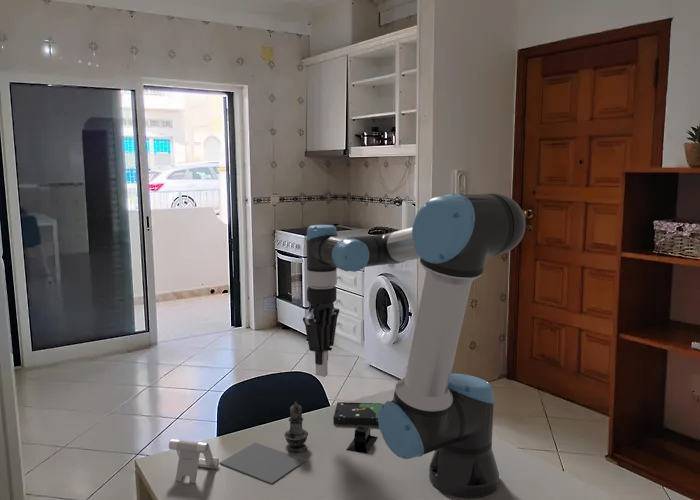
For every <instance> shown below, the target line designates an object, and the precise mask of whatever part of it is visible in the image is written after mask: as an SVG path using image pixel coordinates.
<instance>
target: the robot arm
mask: <svg viewBox="0 0 700 500" xmlns="http://www.w3.org/2000/svg"><path fill="white" fill-rule="evenodd" d="M526 223H527V222H526V217H525V214H524V211H523V209H522V208H521V206H520V205H519V203H517V202H516V201H515V200H514V199H512V198H511V197H509V196H507V195H504V194H500V193H477V194H475V193H471V194H466V193H465V194H463V193H462V194H457V193H450V194H446V195H439V196H434V197H433V198H430V199H429V200H428V201H426V202H425V203H423V204H422V206H421V207H420V208H419V209H418V211H417V212H416V214H415V217H414V219H413V223H412V226H411V227H408V228H403V229H400V230H397V231H396V230H395V231H392V232H388V233H382V234H374V235H373V234H372V235H362V236H360V235H359V236H347V237H345V236H338V231H337V227H336V226H335V225H332V224H313V225H309V226H308V227H307V229H306V240H305V243H306V284H307V287H306V301H307V302H308V303H309V305H310V306H309V309H308V312H309V314H307V316H303V318H302V321H303V324H304V326H305V332H306V338H307V342H308V343H307V344H308V350H309V351H310V352H314V355H315V356H314V358H315V359H314V363H315V375H316V376H319V377H322V378H325V377H327V376H328V375H329V374H328V373H329V371H328V370H329V369H328V368H329V367H328V361H329V351H330V352H331V351H332V350H333V346H334V344H335V343H334V342H335V336H336V329H337V324H338V323H337V322H338V316H339V314H340V308H337V307H335V305H334V303H335V302H336V301H337V287H336V286H337V284H338V281H337V280H338V276H337V275H338V274H337V273H338V271H337V270H338V269H339V270H341V271H344V272H352V273H353V272H354V273H355V272H356V273H357V272H359V271H361V270H363V269H364V268H368V267H376V266H384V265H396V264H397V265H398V264H401V263H405V262H406V261H407V262H408V261H409V262H410V261H415V260H419V263H420V265H421V267H422V268H423V269H424V271H425V276H424V281H423V286H422V291H421V296H420V301H419V305H418V310H417V316H416V320H415V327H414V331H413V337H412V341H411V347H410V351H409V357H408V361H407V366H406V367H407V368H406V371H405V376H404V377H403V378H401V379H399V380H398V381H397V382H396V384H395V388H394V392H393V393H394V394H393V398H392V400H387V401H385V402H384V403H381V404H382V405H381V407H380V409H379V412H378V423H379V426H378V427H379V431H380V434H381V436H382V439H383V440H384V443H385V444H386V446H387V447H388V449H389V450H390V451H391V452H392V453H393V454H395V456H397V457H399V458H400V459H404V460H410V459H413V458H420V457H422V456H424V455H427V454H429V453H432V452H433V454H432V458H431V460H430V464H429V466H428V469H429V470H428V471H429V472H428V478H429V481H430V482H431V484H432V485H433V486H434V487H435V488H436V489H438V490H439V491H442V492H443V493H445V494H448V495H452V496H455V497H460V498H469V499H470V498H480V497H481V498H482V497H485V496H488V495H490V494H493V493H494V492H496V490H497V489H498V487H499V484H500V473H499V472H500V471H499V468H498V466H497V465H498V464H497V462H496V460H495V455H494V452H493V447H492V446H493V444H492V443H493V428H494V427H493V426H494V425H493V424H494V406H495V405H494V404H495V400H494V389H493V388H494V387H492V385H491V383H489V382H488V381H486V380H485V379H482V378H480V377H477V376H473V375H469V374H465V373H452V372H453V368H454V367H453V366H454V362H455V359H456V353H457V349H458V344H459V341H460V336H461V335H460V334H461V330H462V327H463V323H464V317H465V313H466V310H467V305H468V300H469V297H470V291H471V287H472V283H473V281H475V280H477V279H479V278H480V277H481V276H482V275H483V273H484V268H485V264H486V261H487V257H494V256H498V255H499V256H500V255H503V254H506V253H508V252H510V251H512V250H513V249H514V248H515V247H517V246H518V245H519V243H520V242H521V241H522V239H523V238H524V236H525V235H524V234H525V231H526Z"/></svg>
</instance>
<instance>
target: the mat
mask: <svg viewBox="0 0 700 500" xmlns="http://www.w3.org/2000/svg"><path fill="white" fill-rule="evenodd" d="M305 462H307V460H306V459H304V458H301V457H298V456H295V455H293V454H290V453H286V452H283V451H281V450H278V449H276V448H272V447H270V446H266V445H264V444H261V443H257V442H253V443H251V444H250V445H248V446H246V447H245V448H242V449H241V450H240V451H238V452H236V453H234V454H232V455H231V456H230V455H229V457H227V458H225V459H224V460H222V461H219V465H222V466H225V467H227V468H230V469H232V470H234V471H237V472H239V473H242V474H244V475H246V476H250V477H252V478H255V479H257V480H260V481H262V482H265V483H268V484H269V485H273V484H275V483H276V482H278V481H279V480H281V479H282V478H284V477H285V476H286V475H288V474H289V473H291V472H292V471H294V470H295V469H296V468H298V467H299V466H301V465H303V464H304V463H305Z"/></svg>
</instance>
